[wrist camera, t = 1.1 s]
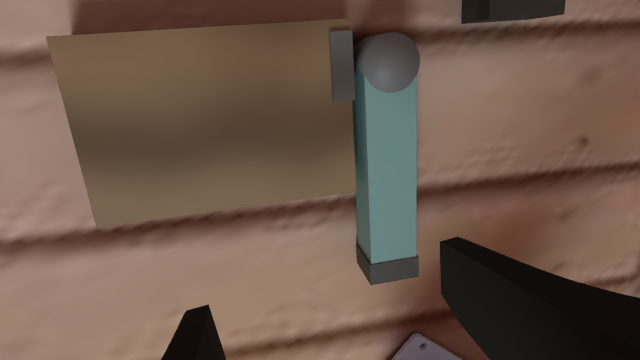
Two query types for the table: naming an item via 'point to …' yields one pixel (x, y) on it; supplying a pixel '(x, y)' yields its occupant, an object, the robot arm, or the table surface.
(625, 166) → the table surface
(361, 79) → the stool leg
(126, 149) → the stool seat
